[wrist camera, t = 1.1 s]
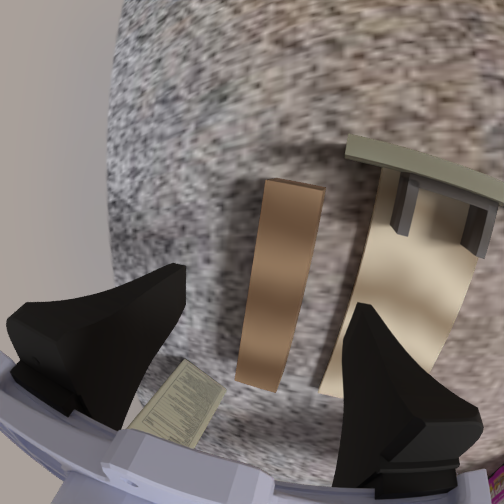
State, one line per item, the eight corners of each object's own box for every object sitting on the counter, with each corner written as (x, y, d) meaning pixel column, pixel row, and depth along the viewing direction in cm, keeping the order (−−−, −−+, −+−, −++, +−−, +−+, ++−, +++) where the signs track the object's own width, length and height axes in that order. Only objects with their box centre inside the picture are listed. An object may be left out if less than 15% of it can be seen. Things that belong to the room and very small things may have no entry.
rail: (284, 367, 29) (275, 392, 25) (247, 357, 30) (234, 380, 26) (326, 187, 23) (322, 191, 20) (277, 177, 24) (265, 179, 20)
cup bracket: (429, 406, 25) (437, 454, 18) (291, 379, 29) (274, 428, 22) (515, 197, 18) (560, 209, 11) (347, 143, 21) (348, 133, 15)
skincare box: (171, 374, 34) (113, 439, 23) (185, 356, 32) (122, 426, 21) (212, 406, 33) (165, 478, 22) (230, 390, 32) (182, 470, 20)
